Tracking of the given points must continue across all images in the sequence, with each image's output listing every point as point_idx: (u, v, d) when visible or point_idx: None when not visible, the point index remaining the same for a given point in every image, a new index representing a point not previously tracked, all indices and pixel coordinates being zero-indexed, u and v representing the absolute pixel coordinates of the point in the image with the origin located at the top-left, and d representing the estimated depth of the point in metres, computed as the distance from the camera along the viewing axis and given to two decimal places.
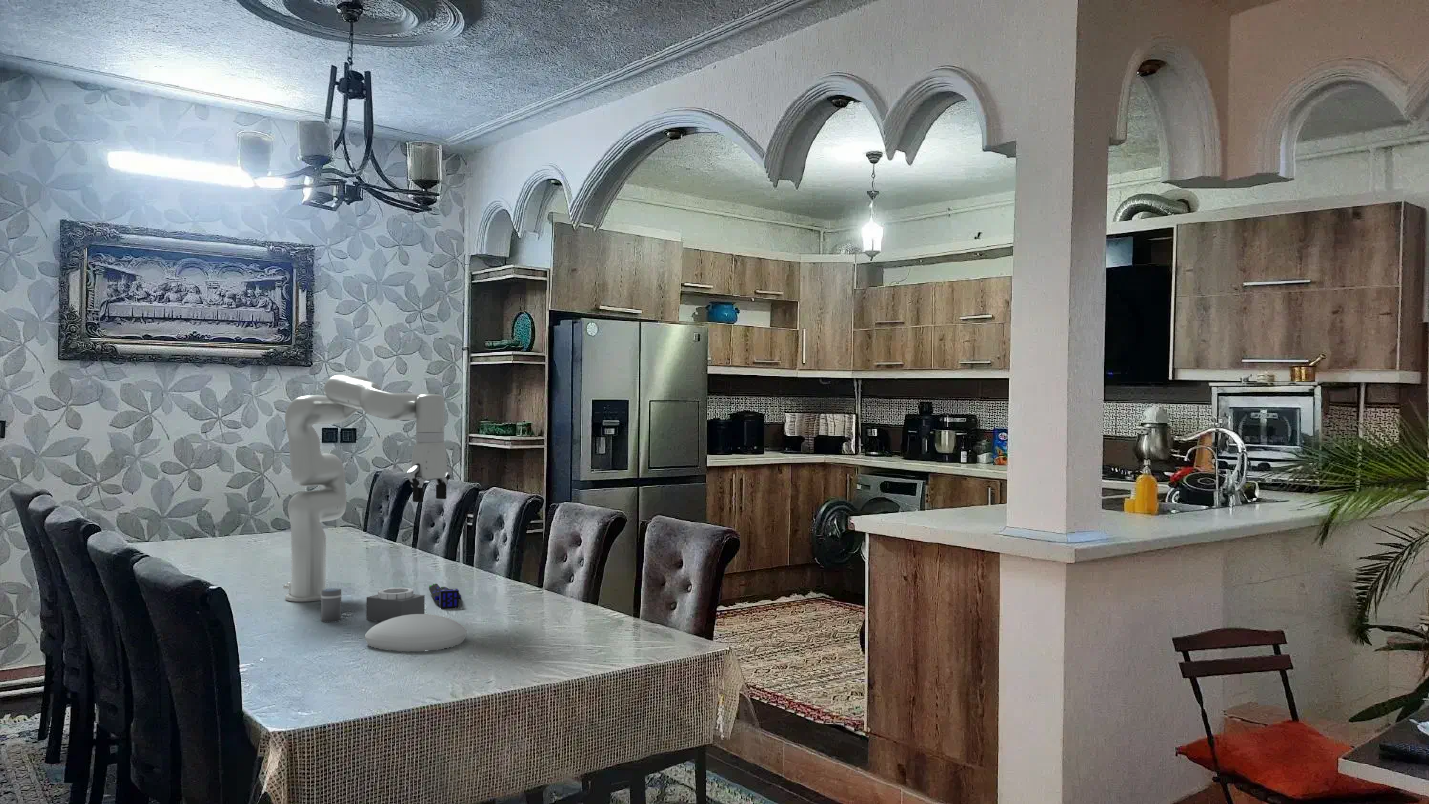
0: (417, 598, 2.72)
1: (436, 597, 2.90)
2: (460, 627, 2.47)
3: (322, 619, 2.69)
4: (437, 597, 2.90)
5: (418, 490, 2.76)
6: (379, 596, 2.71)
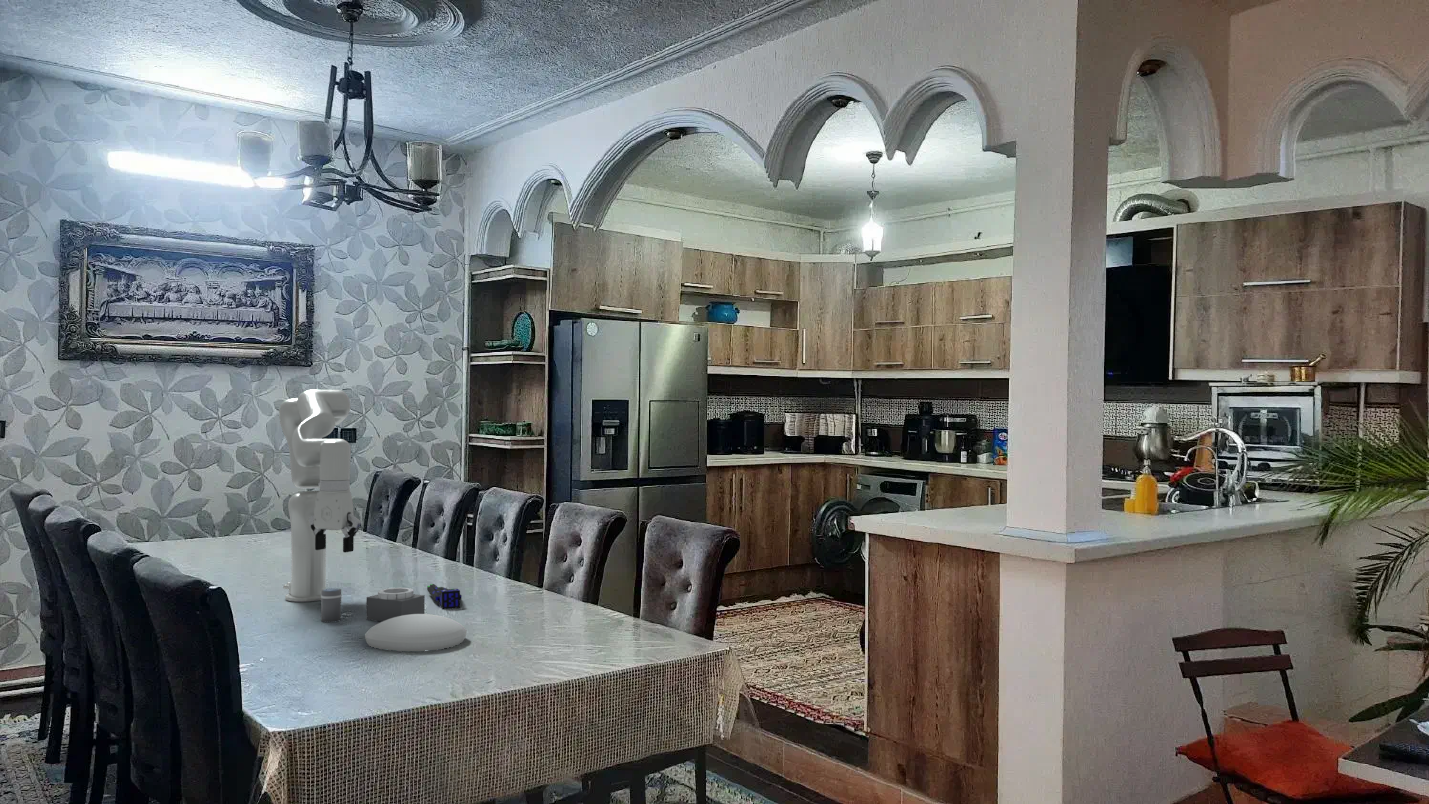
0: (417, 598, 2.72)
1: (437, 597, 2.90)
2: (460, 627, 2.47)
3: (322, 619, 2.69)
4: (438, 597, 2.90)
5: None
6: (379, 596, 2.71)
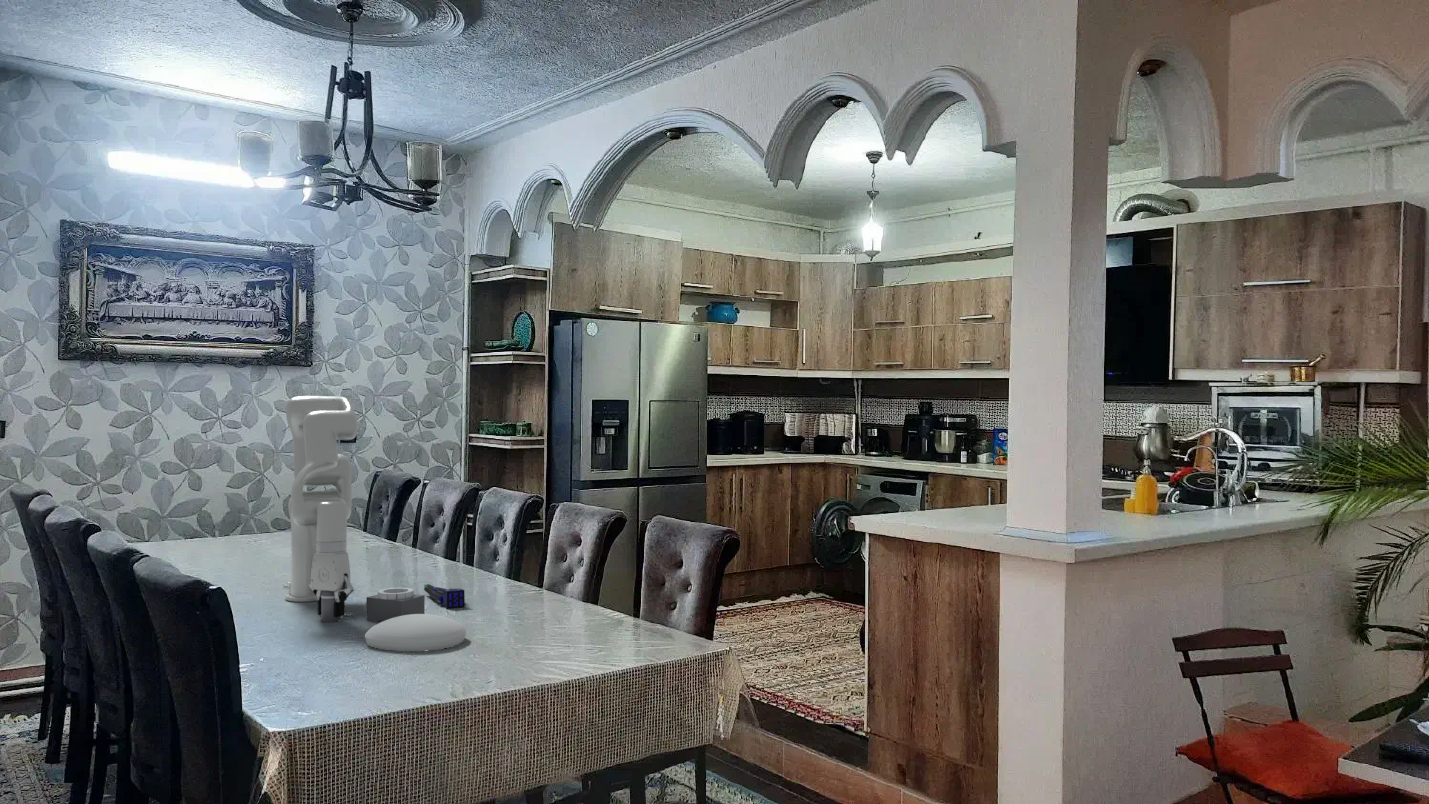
0: (417, 598, 2.72)
1: (440, 597, 2.90)
2: (460, 627, 2.47)
3: (322, 619, 2.69)
4: (441, 597, 2.90)
5: None
6: (379, 596, 2.71)
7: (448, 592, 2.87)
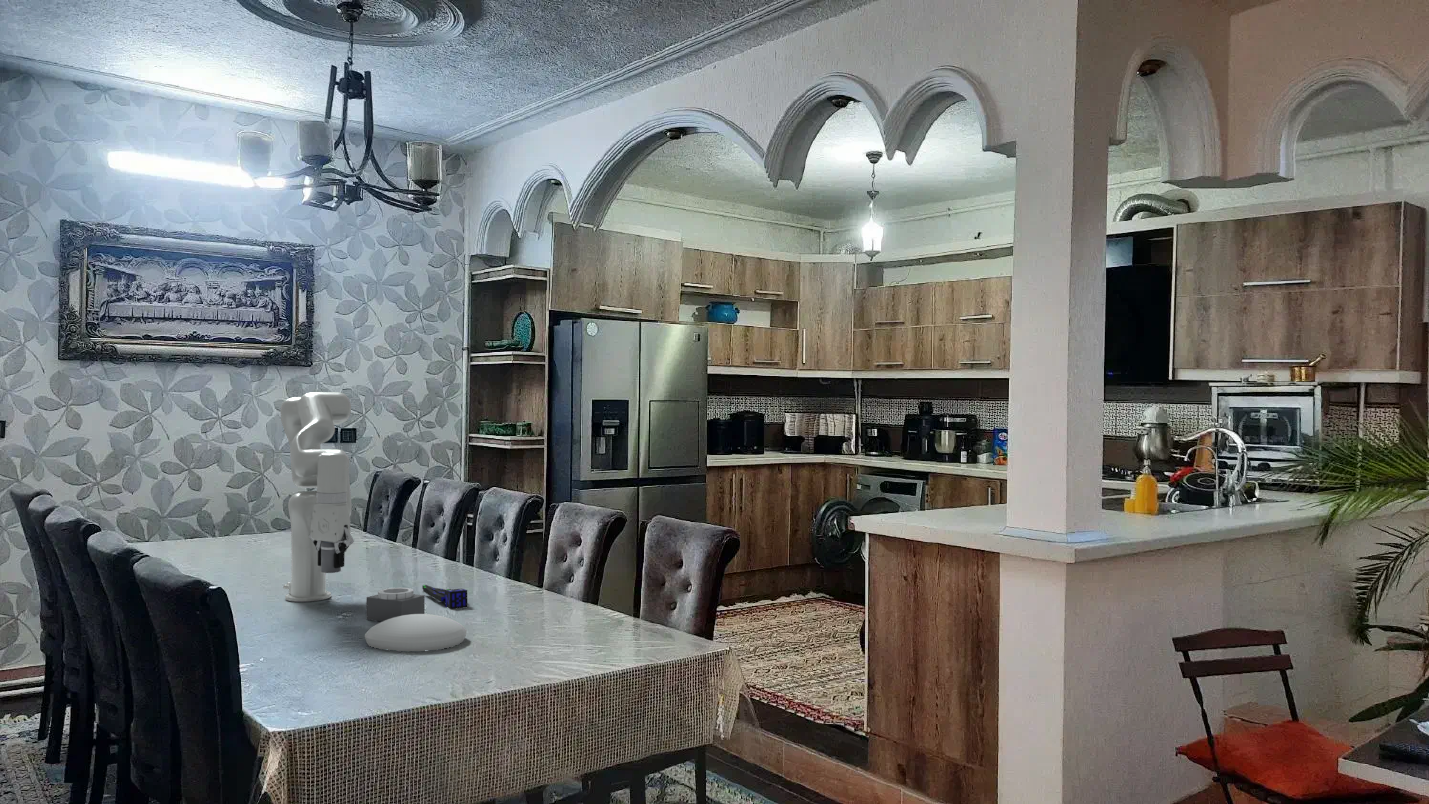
0: (417, 598, 2.72)
1: (442, 598, 2.90)
2: (460, 627, 2.47)
3: (322, 570, 2.70)
4: (443, 598, 2.90)
5: None
6: (379, 596, 2.71)
7: (451, 592, 2.87)
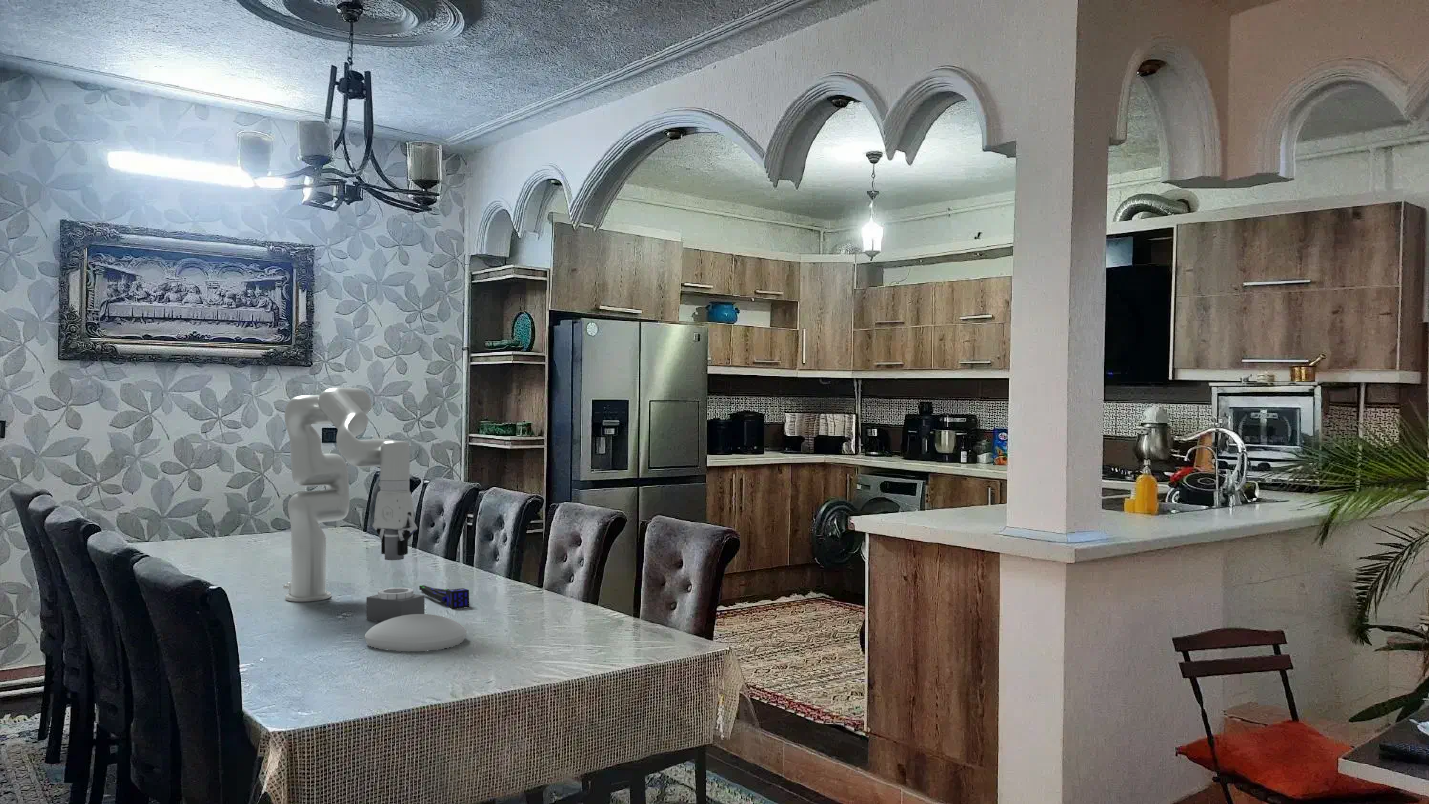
0: (417, 598, 2.72)
1: (443, 598, 2.90)
2: (460, 627, 2.47)
3: (386, 557, 2.71)
4: (444, 598, 2.90)
5: None
6: (379, 596, 2.71)
7: (453, 592, 2.87)
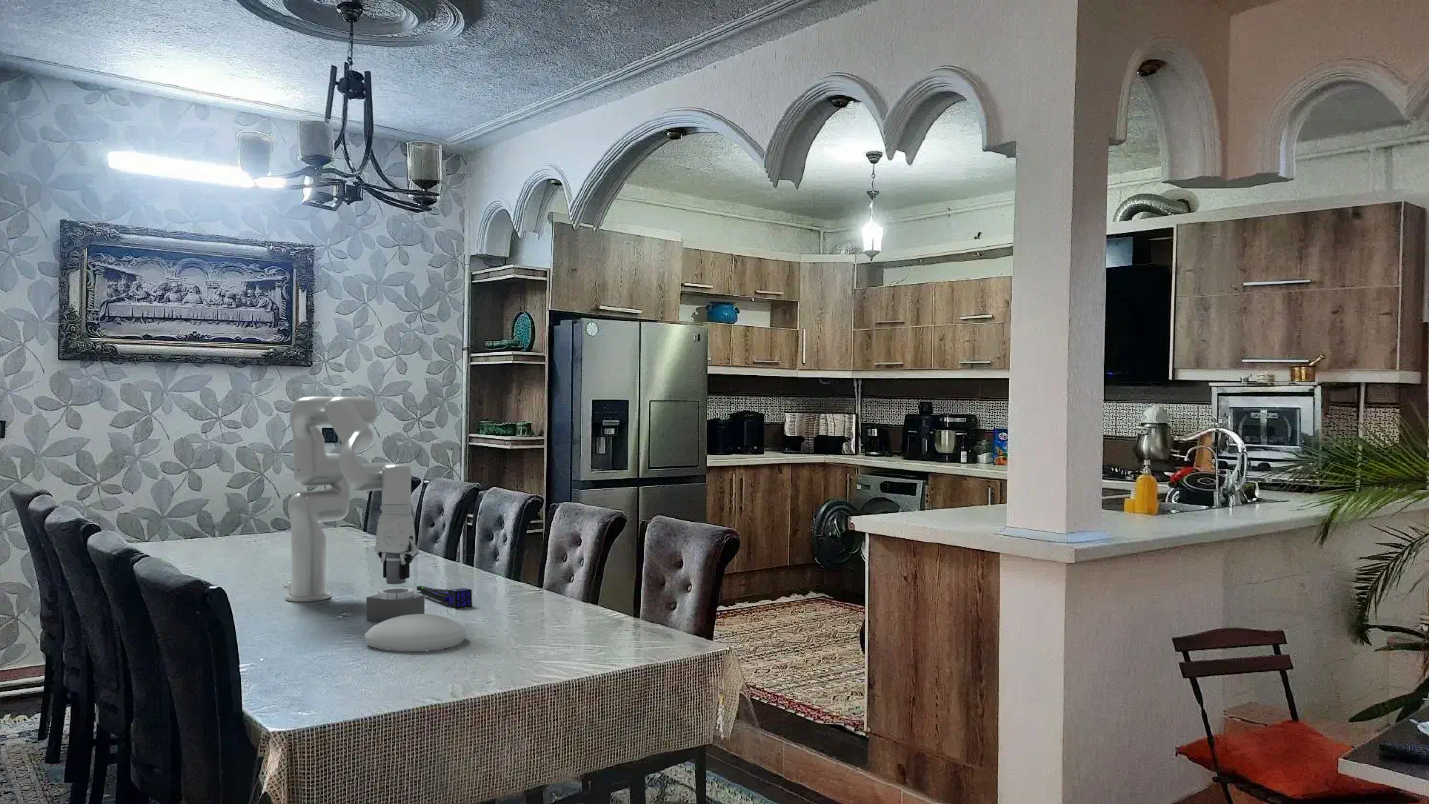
0: (417, 598, 2.72)
1: (446, 598, 2.90)
2: (460, 627, 2.47)
3: (388, 581, 2.71)
4: (447, 597, 2.90)
5: None
6: (379, 596, 2.71)
7: (456, 592, 2.87)
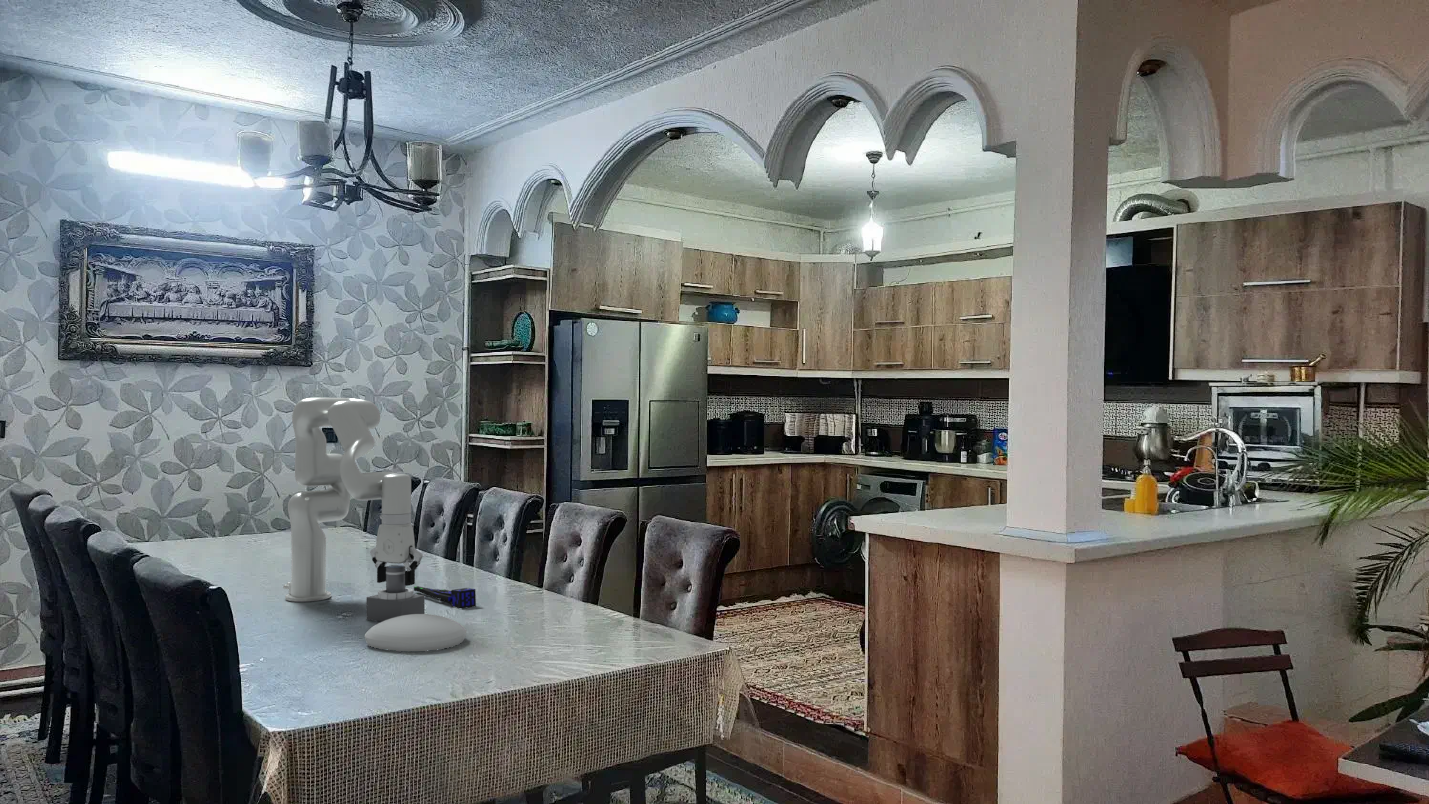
0: (417, 598, 2.72)
1: (449, 598, 2.90)
2: (460, 627, 2.47)
3: None
4: (450, 598, 2.90)
5: None
6: (379, 596, 2.71)
7: (461, 592, 2.88)
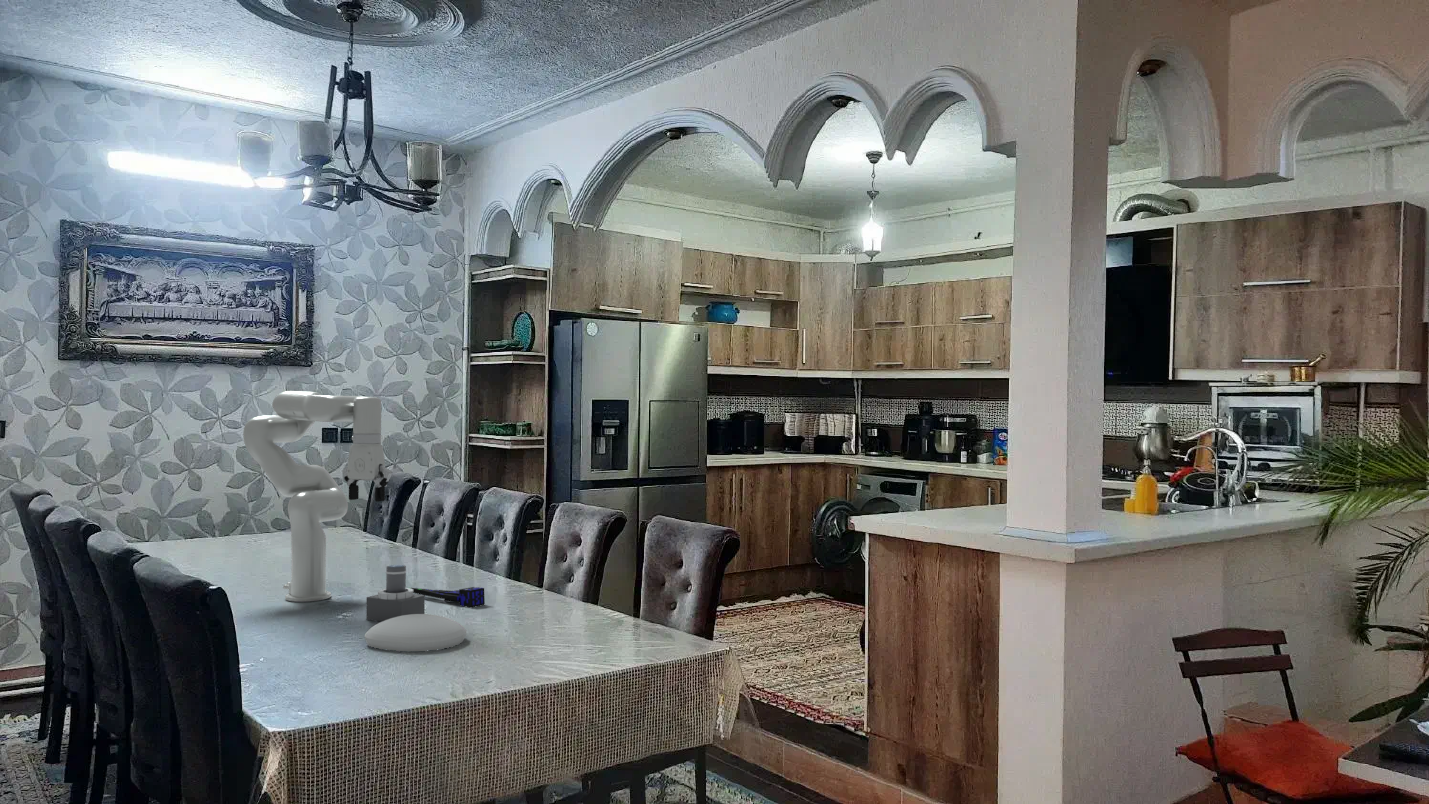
0: (417, 598, 2.72)
1: (458, 597, 2.91)
2: (460, 627, 2.47)
3: None
4: (459, 597, 2.91)
5: None
6: (379, 596, 2.71)
7: (471, 591, 2.89)
